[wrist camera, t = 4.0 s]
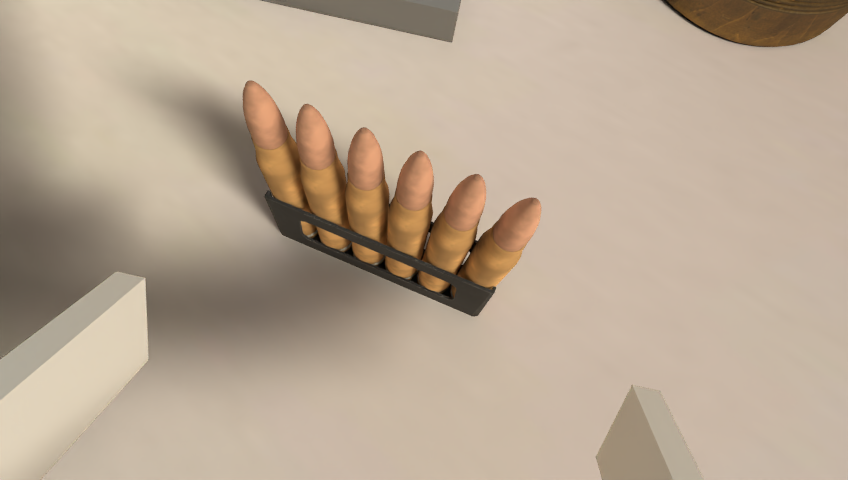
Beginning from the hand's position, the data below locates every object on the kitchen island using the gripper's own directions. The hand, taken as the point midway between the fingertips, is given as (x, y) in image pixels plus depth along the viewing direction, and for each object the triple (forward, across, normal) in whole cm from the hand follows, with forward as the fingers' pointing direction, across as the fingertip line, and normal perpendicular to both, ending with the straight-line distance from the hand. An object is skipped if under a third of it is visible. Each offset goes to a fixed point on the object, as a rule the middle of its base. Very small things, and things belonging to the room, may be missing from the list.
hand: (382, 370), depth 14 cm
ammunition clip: (+12, -1, -3) cm, 12 cm away
